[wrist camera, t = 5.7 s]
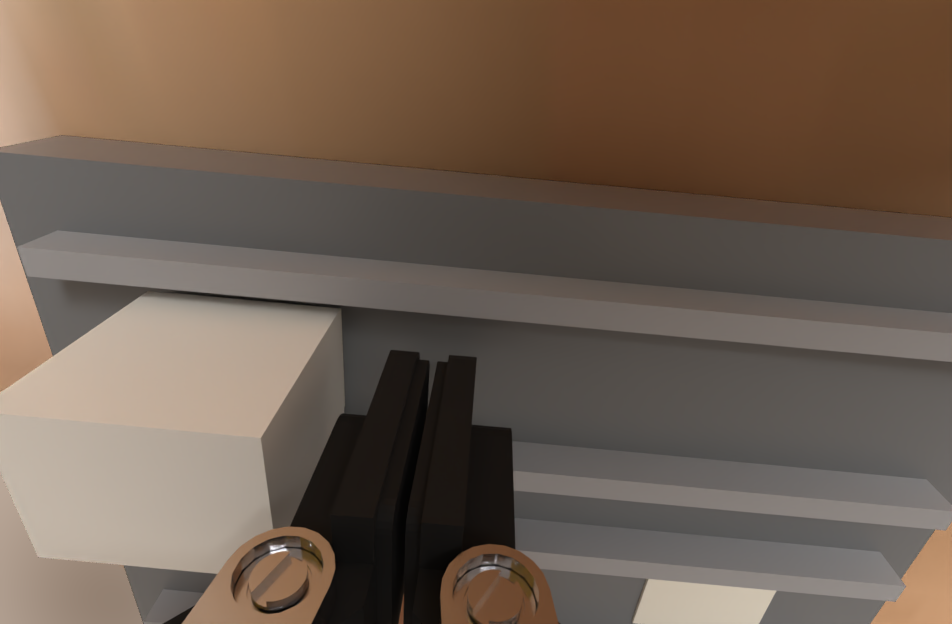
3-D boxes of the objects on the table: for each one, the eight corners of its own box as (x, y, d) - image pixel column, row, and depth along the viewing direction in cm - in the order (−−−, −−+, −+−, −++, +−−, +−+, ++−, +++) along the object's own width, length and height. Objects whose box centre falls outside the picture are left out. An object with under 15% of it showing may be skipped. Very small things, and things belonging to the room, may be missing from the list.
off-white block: (147, 291, 11) (-28, 411, 7) (339, 309, 11) (260, 437, 7) (173, 408, 12) (38, 557, 9) (344, 423, 12) (279, 579, 9)
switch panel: (62, 135, 12) (-68, 160, 9) (1029, 224, 12) (1185, 277, 9) (179, 572, 19) (124, 661, 16) (792, 629, 19) (841, 727, 16)
